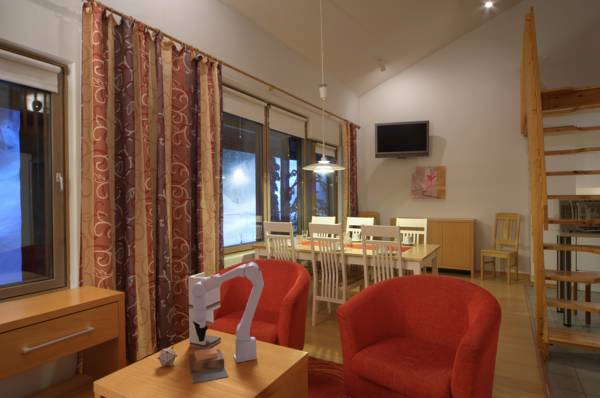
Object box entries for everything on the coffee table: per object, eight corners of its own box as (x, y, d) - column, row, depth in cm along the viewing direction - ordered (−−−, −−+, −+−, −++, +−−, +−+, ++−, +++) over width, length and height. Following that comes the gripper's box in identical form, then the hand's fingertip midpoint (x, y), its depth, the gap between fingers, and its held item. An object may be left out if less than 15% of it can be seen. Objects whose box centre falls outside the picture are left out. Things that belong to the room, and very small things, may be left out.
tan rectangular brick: (215, 351, 169) (215, 347, 168) (217, 357, 163) (217, 352, 163) (194, 355, 165) (194, 351, 165) (196, 360, 160) (196, 356, 160)
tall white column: (206, 349, 180) (205, 278, 180) (189, 346, 185) (188, 276, 184) (220, 341, 191) (219, 273, 190) (204, 337, 195) (203, 272, 195)
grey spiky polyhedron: (169, 375, 163) (168, 363, 157) (153, 367, 164) (151, 355, 158) (181, 358, 170) (181, 346, 164) (165, 350, 171) (165, 338, 165)
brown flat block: (219, 357, 172) (219, 348, 172) (224, 367, 162) (224, 358, 162) (188, 362, 167) (188, 354, 166) (191, 373, 156) (191, 364, 156)
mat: (224, 367, 162) (224, 366, 162) (228, 376, 153) (228, 376, 153) (191, 373, 156) (191, 373, 156) (193, 383, 148) (193, 383, 148)
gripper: (188, 305, 174) (189, 334, 174) (192, 314, 160) (193, 345, 161) (204, 303, 176) (204, 331, 177) (209, 312, 163) (209, 342, 163)
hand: (200, 338), depth 169 cm, fingers open, 7 cm apart
